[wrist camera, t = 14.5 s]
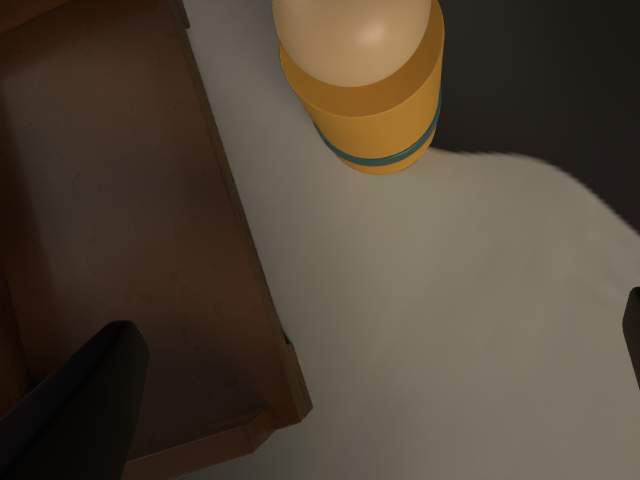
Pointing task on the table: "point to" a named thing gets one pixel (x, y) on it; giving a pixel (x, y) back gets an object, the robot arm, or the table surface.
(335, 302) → the table surface
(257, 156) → the table surface
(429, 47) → the doll
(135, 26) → the wooden desk tray
